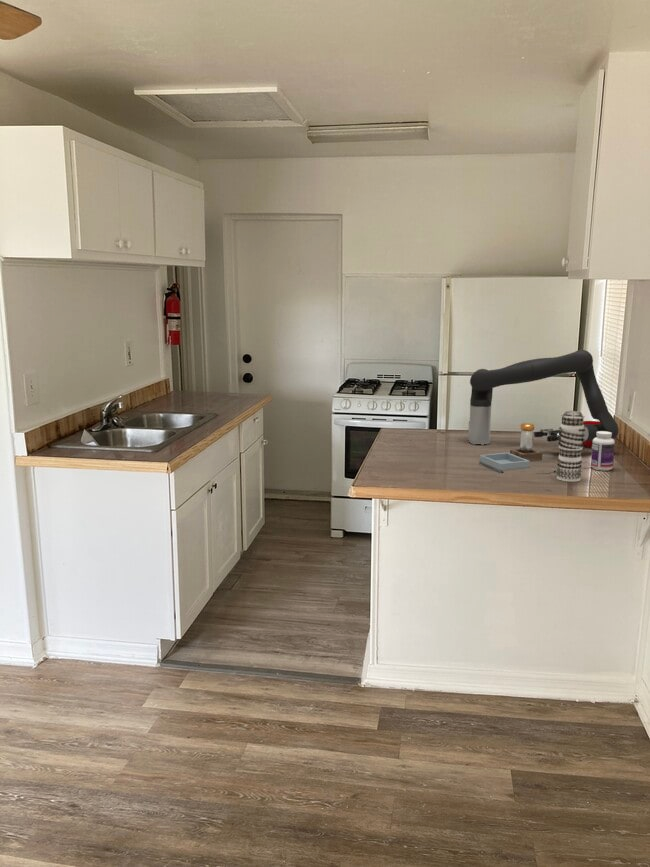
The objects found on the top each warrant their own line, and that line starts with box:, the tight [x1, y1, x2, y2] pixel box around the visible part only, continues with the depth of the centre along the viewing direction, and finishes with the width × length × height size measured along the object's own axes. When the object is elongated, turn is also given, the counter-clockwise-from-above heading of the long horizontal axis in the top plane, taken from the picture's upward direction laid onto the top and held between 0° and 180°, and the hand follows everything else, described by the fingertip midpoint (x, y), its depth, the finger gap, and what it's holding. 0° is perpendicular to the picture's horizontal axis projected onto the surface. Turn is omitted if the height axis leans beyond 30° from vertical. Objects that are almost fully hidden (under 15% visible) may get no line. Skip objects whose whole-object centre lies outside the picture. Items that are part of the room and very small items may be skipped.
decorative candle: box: [556, 410, 585, 483], centre depth 261 cm, size 9×9×25 cm
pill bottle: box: [590, 431, 616, 472], centre depth 275 cm, size 8×8×14 cm
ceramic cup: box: [582, 420, 601, 448], centre depth 313 cm, size 13×17×10 cm
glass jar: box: [519, 422, 535, 453], centre depth 288 cm, size 5×5×14 cm
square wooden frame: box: [509, 448, 543, 462], centre depth 289 cm, size 9×9×4 cm
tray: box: [479, 452, 531, 474], centre depth 280 cm, size 15×13×4 cm
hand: (541, 436), depth 290 cm, fingers open, 8 cm apart
